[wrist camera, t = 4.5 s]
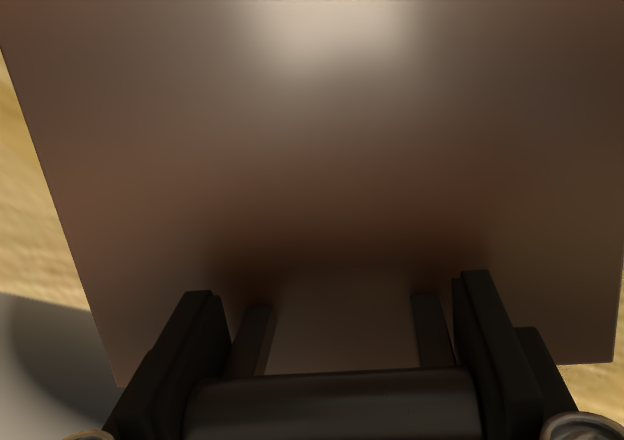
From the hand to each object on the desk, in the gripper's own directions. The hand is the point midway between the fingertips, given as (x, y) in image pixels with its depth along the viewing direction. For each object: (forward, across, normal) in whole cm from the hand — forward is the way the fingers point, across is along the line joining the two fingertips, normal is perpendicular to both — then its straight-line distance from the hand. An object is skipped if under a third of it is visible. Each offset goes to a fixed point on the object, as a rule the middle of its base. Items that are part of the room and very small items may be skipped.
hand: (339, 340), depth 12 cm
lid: (+2, 0, -6) cm, 6 cm away
